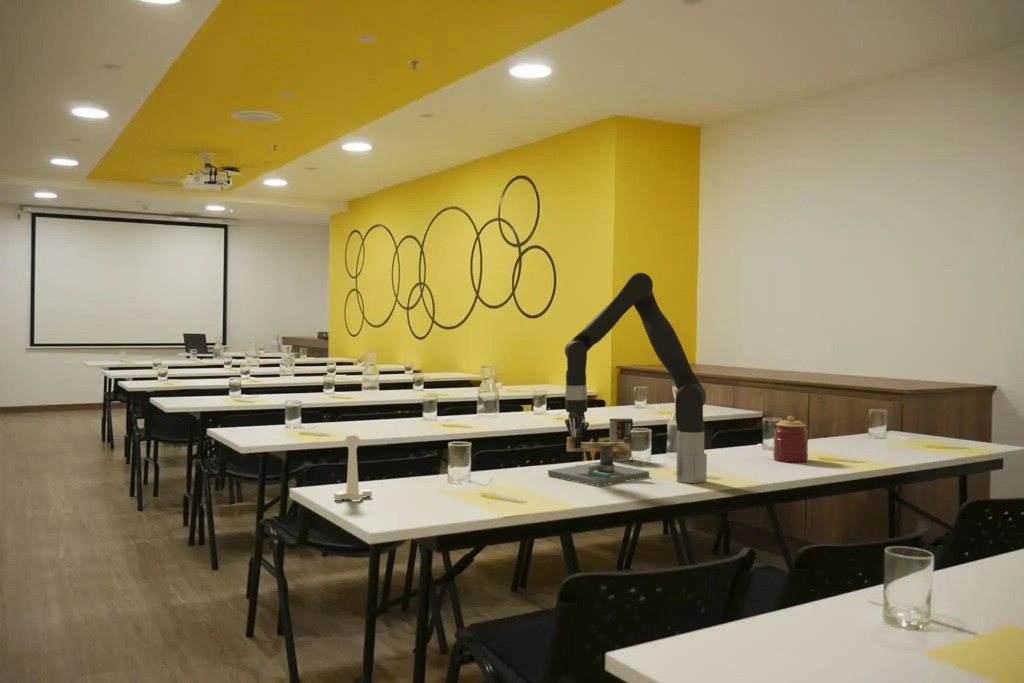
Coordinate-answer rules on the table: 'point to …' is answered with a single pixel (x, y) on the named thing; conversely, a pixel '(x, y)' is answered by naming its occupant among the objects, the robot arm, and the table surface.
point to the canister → (790, 441)
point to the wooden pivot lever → (601, 452)
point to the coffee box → (621, 436)
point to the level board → (598, 474)
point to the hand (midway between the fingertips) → (577, 447)
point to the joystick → (352, 473)
